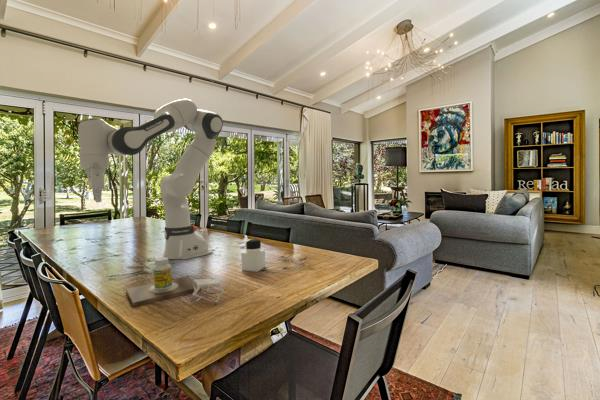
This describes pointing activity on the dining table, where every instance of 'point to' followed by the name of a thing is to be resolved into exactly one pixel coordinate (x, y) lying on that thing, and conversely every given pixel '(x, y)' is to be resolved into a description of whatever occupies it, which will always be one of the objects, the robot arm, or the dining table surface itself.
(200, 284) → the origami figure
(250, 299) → the dining table surface
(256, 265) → the medicine bottle
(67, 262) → the dining table surface
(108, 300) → the dining table surface
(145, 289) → the walnut board
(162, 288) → the supplement bottle
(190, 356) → the dining table surface
